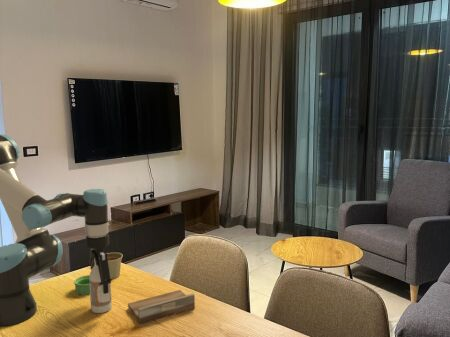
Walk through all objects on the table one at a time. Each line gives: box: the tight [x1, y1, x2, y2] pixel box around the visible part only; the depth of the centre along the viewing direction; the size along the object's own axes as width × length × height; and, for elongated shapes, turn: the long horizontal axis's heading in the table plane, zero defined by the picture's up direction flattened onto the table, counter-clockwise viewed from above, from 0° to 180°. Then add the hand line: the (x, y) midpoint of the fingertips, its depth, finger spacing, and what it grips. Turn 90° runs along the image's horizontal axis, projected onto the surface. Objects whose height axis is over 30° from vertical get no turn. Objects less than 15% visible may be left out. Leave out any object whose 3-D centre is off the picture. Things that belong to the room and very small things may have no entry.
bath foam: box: [89, 258, 112, 314], centre depth 137 cm, size 7×7×20 cm
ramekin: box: [73, 274, 90, 296], centre depth 153 cm, size 9×9×4 cm
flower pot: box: [106, 252, 123, 280], centre depth 166 cm, size 9×9×9 cm
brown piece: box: [127, 289, 196, 325], centre depth 138 cm, size 12×20×5 cm, turn 121°
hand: (100, 294), depth 138 cm, fingers open, 12 cm apart
